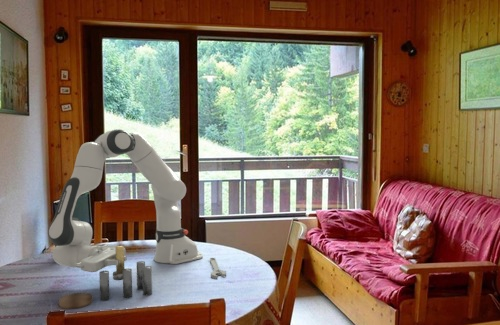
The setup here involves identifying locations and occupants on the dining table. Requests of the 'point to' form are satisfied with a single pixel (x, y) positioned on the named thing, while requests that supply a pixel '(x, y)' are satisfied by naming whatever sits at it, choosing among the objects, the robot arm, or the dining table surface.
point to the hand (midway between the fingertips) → (122, 260)
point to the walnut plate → (75, 300)
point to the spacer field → (128, 281)
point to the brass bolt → (119, 268)
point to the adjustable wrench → (216, 269)
